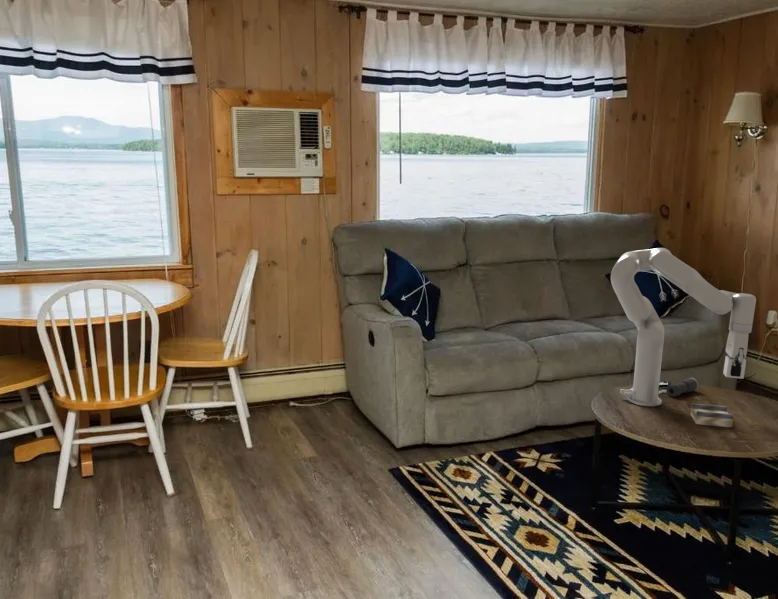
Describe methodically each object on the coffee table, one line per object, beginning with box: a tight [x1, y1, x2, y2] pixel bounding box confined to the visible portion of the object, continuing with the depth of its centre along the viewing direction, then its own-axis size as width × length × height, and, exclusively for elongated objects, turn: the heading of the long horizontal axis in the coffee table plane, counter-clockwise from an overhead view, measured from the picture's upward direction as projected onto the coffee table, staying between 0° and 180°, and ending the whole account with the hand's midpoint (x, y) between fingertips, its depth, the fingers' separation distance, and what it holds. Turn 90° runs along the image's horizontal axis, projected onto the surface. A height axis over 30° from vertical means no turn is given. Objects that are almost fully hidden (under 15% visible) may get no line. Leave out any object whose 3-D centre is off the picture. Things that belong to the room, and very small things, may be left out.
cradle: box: [690, 402, 734, 428], centre depth 248 cm, size 12×10×4 cm
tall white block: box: [722, 355, 747, 379], centre depth 253 cm, size 6×4×7 cm
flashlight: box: [665, 377, 699, 398], centre depth 278 cm, size 15×5×5 cm, turn 126°
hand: (733, 373), depth 254 cm, fingers closed on tall white block, 4 cm apart
